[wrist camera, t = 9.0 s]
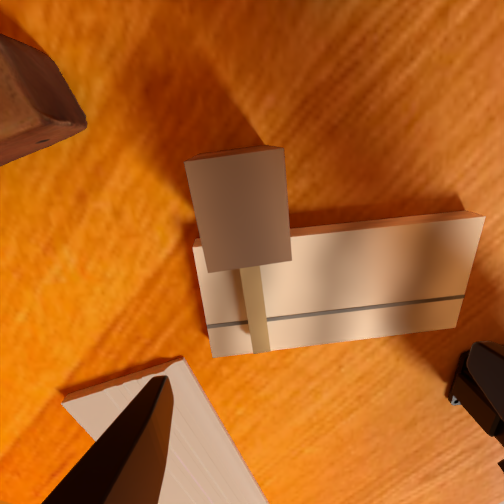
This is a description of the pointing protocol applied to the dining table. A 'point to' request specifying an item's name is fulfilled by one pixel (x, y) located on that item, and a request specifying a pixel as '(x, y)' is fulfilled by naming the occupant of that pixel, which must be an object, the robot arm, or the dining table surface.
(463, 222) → the board
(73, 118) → the hand plane
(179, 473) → the baseboard molding
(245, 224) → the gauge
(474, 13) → the dining table surface
